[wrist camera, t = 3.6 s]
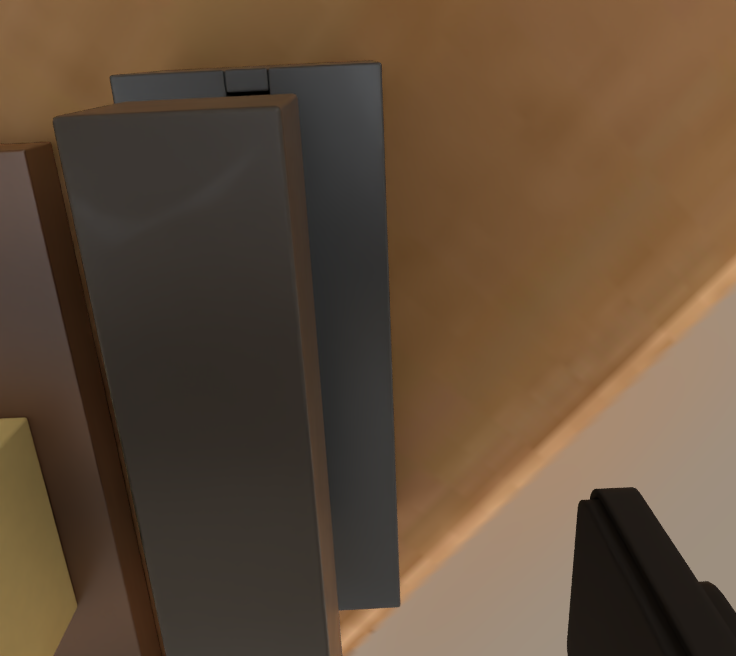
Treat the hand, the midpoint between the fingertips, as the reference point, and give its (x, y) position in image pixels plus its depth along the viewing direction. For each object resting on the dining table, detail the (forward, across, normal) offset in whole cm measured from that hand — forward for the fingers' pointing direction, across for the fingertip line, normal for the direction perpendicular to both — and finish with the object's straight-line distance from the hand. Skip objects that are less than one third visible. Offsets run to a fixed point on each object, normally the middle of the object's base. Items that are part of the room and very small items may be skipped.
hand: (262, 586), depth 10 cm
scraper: (+10, 0, -1) cm, 10 cm away
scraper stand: (+10, 0, -1) cm, 10 cm away
